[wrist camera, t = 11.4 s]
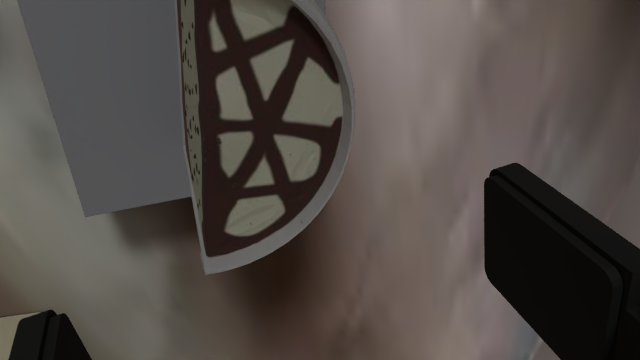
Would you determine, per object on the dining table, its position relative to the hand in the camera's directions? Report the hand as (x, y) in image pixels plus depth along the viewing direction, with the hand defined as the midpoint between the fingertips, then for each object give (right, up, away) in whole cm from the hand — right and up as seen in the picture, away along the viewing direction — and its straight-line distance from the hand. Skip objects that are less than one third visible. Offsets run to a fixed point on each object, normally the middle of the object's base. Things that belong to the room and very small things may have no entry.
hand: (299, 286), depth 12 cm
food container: (-4, +9, +16) cm, 18 cm away
